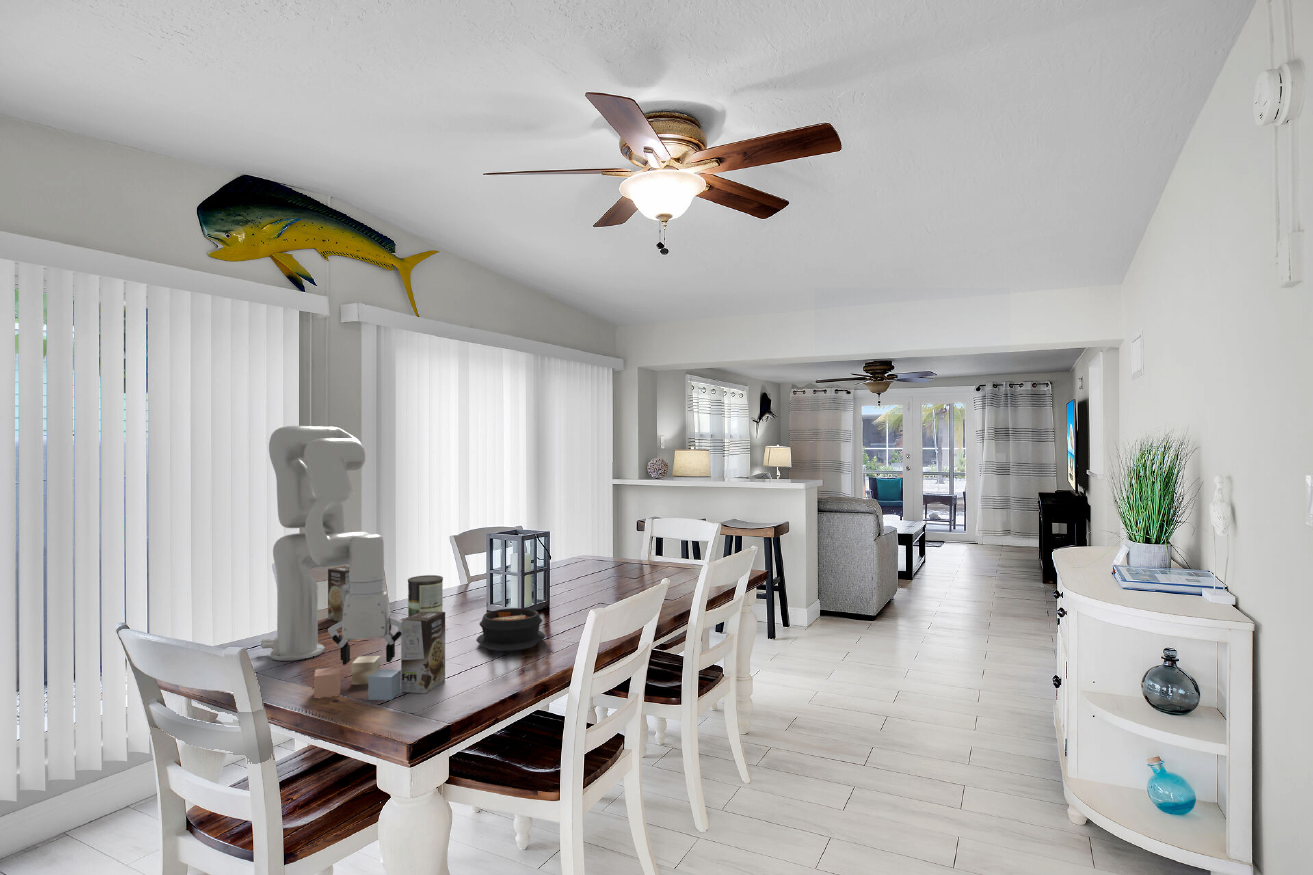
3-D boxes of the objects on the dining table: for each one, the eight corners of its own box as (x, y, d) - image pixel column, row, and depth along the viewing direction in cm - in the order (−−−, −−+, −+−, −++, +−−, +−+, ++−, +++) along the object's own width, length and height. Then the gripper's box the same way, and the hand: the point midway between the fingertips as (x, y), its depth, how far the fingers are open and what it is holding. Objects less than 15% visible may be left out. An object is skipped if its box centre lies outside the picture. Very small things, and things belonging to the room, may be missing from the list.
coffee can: (402, 628, 211) (402, 581, 211) (415, 619, 221) (415, 574, 221) (436, 628, 210) (436, 581, 211) (447, 620, 221) (447, 575, 221)
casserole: (477, 634, 204) (477, 605, 204) (542, 630, 208) (542, 602, 208) (474, 660, 179) (474, 627, 179) (548, 655, 183) (548, 623, 183)
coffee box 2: (426, 694, 155) (426, 620, 155) (399, 692, 156) (399, 619, 156) (446, 680, 163) (446, 611, 164) (421, 678, 165) (421, 609, 165)
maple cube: (351, 684, 161) (351, 662, 161) (358, 677, 166) (358, 656, 166) (374, 683, 162) (374, 662, 162) (380, 676, 167) (380, 655, 167)
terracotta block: (314, 699, 152) (314, 676, 152) (315, 691, 157) (315, 669, 157) (339, 696, 154) (339, 673, 154) (340, 688, 158) (340, 666, 158)
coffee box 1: (326, 619, 222) (326, 568, 223) (344, 615, 228) (344, 565, 228) (344, 622, 218) (344, 571, 218) (362, 618, 223) (362, 567, 223)
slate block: (368, 700, 151) (368, 676, 151) (378, 691, 156) (378, 669, 156) (391, 700, 151) (391, 676, 151) (400, 692, 156) (400, 669, 156)
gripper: (322, 592, 159) (323, 669, 159) (401, 589, 161) (402, 664, 161) (333, 586, 167) (334, 659, 166) (409, 583, 169) (410, 655, 168)
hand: (368, 661), depth 163 cm, fingers open, 9 cm apart
